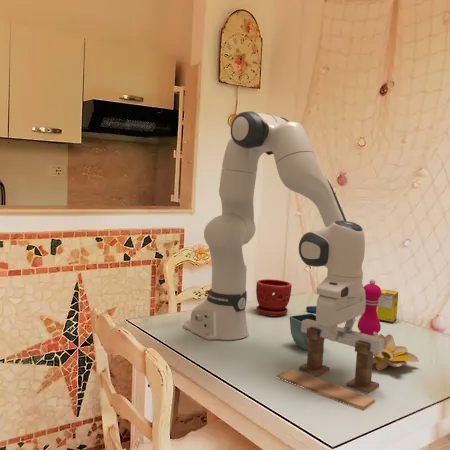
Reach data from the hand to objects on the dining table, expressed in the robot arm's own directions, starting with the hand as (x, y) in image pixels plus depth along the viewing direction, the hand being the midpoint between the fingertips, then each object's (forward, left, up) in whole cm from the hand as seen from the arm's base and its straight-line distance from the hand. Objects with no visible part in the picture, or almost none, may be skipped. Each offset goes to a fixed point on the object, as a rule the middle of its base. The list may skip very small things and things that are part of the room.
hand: (340, 337), depth 128 cm
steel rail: (0, 0, -1) cm, 1 cm away
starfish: (-31, +52, -11) cm, 62 cm away
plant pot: (-47, +36, -11) cm, 60 cm away
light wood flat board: (+1, -9, -11) cm, 14 cm away
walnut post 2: (+7, 0, -11) cm, 13 cm away
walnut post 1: (-7, 0, -11) cm, 13 cm away
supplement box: (-13, +61, -11) cm, 63 cm away
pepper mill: (-8, +35, -11) cm, 38 cm away
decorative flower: (+6, +17, -11) cm, 21 cm away
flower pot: (-18, +14, -11) cm, 25 cm away
